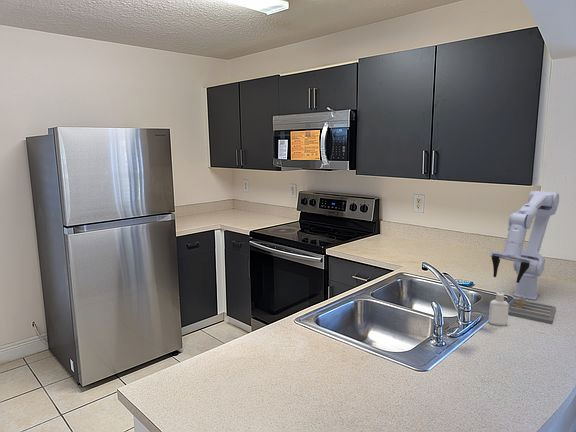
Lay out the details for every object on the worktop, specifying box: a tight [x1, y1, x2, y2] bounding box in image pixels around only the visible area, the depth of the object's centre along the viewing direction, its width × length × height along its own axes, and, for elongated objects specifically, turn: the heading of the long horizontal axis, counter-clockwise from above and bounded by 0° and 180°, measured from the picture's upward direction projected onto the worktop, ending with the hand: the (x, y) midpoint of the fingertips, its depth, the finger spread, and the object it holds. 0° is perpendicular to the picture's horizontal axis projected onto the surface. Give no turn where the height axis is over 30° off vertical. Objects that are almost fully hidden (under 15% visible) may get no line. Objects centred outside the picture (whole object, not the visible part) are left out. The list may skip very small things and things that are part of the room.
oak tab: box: [516, 300, 523, 309], centre depth 148 cm, size 2×2×3 cm
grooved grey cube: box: [518, 295, 527, 303], centre depth 154 cm, size 2×2×3 cm
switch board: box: [508, 298, 557, 325], centre depth 149 cm, size 16×14×2 cm
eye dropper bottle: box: [488, 289, 510, 326], centre depth 139 cm, size 4×6×12 cm
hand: (505, 279), depth 150 cm, fingers open, 7 cm apart
